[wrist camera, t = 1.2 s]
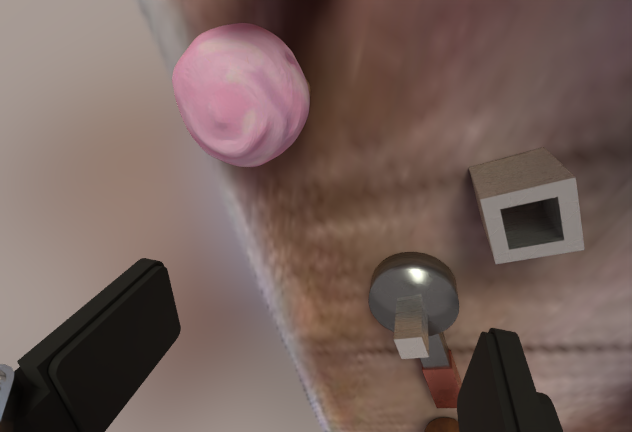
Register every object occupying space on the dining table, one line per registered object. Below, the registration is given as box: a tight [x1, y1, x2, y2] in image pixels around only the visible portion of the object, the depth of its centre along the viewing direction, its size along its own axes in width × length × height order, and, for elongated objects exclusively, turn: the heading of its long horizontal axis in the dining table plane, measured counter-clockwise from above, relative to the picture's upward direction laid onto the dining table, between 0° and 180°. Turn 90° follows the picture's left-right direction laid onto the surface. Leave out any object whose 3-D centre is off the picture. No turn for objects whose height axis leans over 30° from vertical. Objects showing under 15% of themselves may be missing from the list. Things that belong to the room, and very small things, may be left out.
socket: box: [469, 147, 585, 264], centre depth 25 cm, size 5×5×6 cm
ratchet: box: [369, 252, 462, 408], centre depth 33 cm, size 8×19×8 cm, turn 23°
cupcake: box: [172, 23, 311, 167], centre depth 24 cm, size 9×9×10 cm
